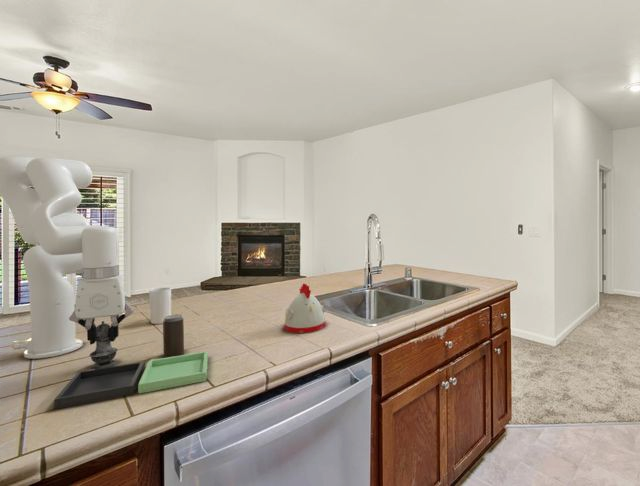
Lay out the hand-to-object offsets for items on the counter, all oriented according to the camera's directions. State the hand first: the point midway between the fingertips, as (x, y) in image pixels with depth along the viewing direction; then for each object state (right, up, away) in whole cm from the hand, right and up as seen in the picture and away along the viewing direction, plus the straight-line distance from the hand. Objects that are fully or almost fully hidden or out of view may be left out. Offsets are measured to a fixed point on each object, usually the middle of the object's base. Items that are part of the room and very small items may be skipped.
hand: (103, 340), depth 97 cm
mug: (-10, -6, +39) cm, 40 cm away
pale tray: (+23, -7, -5) cm, 24 cm away
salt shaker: (0, -7, 0) cm, 7 cm away
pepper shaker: (+14, -6, +7) cm, 17 cm away
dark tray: (+10, -7, -12) cm, 17 cm away
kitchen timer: (+46, -6, +32) cm, 56 cm away
